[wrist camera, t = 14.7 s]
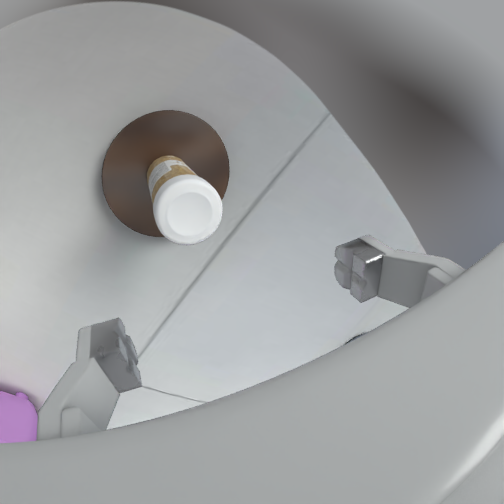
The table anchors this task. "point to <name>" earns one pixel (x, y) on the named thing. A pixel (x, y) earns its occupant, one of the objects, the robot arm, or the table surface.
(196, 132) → the disc
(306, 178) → the table surface
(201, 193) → the sprinkles bottle
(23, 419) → the teapot
